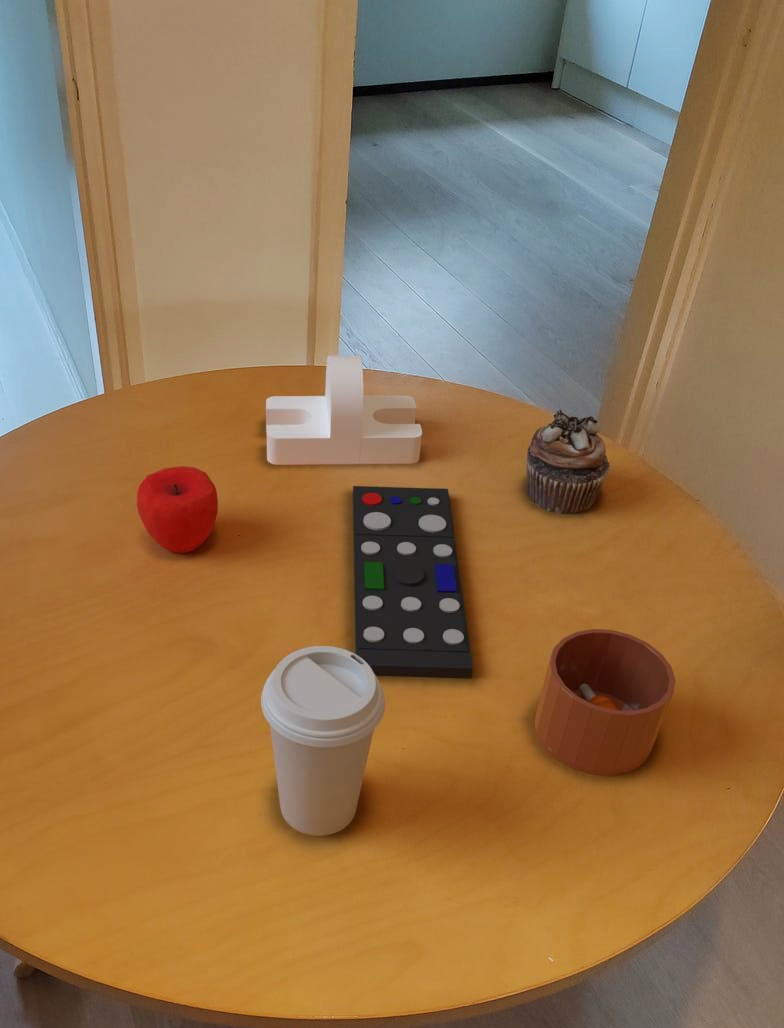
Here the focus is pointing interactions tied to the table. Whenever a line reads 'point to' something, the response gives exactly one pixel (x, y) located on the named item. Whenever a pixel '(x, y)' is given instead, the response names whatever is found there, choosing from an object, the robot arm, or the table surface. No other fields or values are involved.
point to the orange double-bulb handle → (596, 698)
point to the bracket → (342, 423)
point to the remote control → (408, 584)
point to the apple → (178, 507)
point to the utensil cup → (611, 673)
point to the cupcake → (566, 464)
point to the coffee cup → (321, 734)
